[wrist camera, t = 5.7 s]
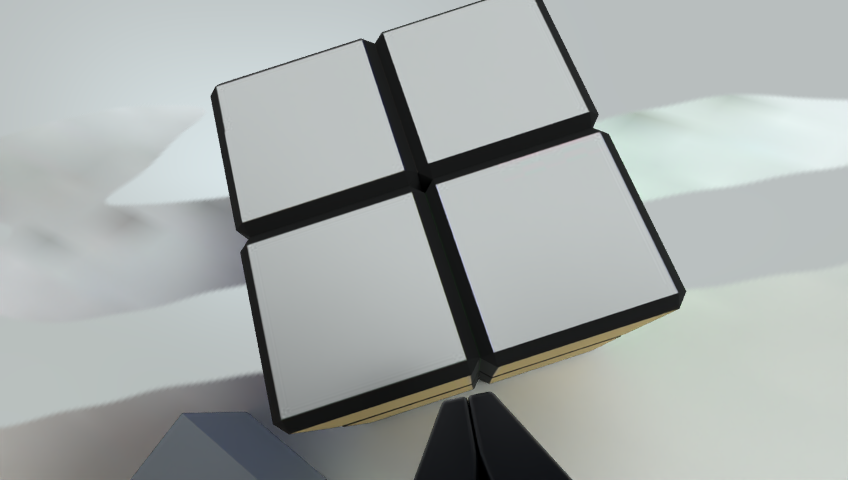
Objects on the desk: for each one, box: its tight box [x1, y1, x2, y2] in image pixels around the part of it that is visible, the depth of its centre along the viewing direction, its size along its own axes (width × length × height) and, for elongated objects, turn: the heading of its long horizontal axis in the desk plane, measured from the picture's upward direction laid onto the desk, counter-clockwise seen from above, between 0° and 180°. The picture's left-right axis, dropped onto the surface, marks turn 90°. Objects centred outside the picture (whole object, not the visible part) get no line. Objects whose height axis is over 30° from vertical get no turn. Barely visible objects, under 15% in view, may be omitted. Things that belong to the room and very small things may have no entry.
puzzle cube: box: [211, 0, 686, 434], centre depth 18 cm, size 10×10×10 cm
